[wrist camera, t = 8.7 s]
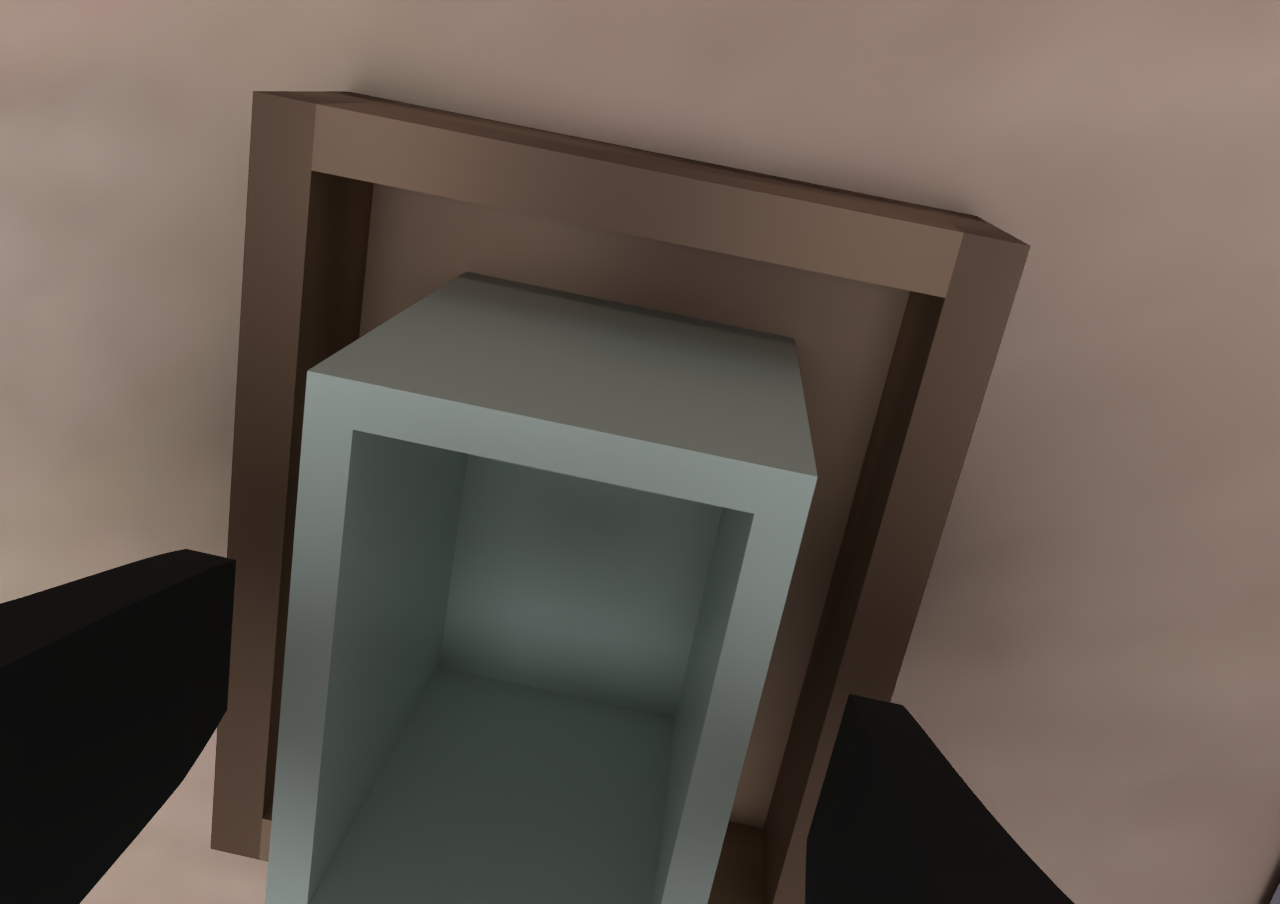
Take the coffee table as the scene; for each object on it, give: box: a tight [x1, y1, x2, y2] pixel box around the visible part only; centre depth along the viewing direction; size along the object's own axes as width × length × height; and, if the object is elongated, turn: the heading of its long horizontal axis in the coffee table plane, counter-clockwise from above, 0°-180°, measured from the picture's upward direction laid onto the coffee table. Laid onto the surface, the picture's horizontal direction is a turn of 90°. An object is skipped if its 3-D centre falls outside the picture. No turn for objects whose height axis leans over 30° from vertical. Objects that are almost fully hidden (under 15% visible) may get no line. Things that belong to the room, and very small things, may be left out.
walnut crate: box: [211, 91, 1030, 904], centre depth 16 cm, size 10×12×3 cm
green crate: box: [265, 272, 818, 904], centre depth 14 cm, size 5×7×6 cm
